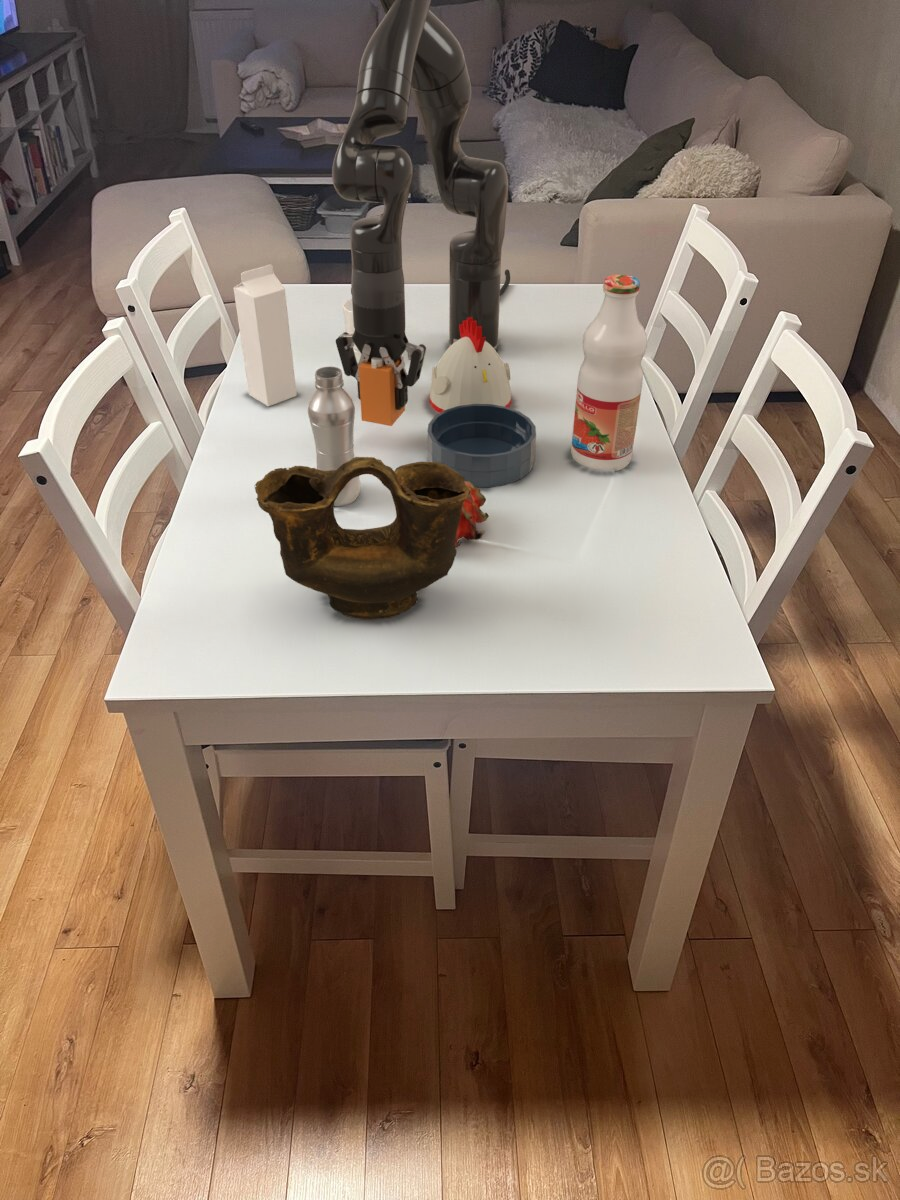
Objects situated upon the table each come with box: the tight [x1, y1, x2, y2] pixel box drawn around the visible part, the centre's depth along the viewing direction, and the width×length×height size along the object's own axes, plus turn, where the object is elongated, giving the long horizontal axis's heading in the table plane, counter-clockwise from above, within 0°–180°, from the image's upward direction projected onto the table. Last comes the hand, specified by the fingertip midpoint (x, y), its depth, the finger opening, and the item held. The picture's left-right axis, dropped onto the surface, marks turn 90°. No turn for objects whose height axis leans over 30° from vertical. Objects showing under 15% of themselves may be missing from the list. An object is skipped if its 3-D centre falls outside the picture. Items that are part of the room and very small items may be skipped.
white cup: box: [342, 298, 361, 364], centre depth 171 cm, size 8×8×10 cm
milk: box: [233, 263, 298, 407], centre depth 155 cm, size 6×6×22 cm
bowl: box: [427, 404, 537, 488], centre depth 143 cm, size 16×16×6 cm
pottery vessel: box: [254, 456, 471, 620], centre depth 113 cm, size 25×11×20 cm, turn 96°
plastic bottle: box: [307, 365, 362, 507], centre depth 130 cm, size 6×7×20 cm
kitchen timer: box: [429, 317, 512, 414], centre depth 155 cm, size 14×14×15 cm
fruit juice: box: [570, 274, 648, 472], centre depth 137 cm, size 9×9×28 cm
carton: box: [359, 355, 406, 427], centre depth 142 cm, size 6×5×10 cm
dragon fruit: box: [455, 481, 490, 549], centre depth 127 cm, size 8×8×12 cm
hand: (383, 404), depth 144 cm, fingers closed on carton, 5 cm apart
